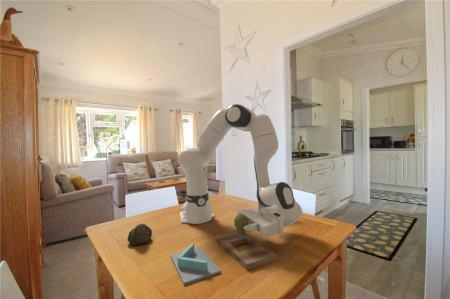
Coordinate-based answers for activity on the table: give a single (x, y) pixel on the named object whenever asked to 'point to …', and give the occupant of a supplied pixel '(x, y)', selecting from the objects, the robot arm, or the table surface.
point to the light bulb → (241, 225)
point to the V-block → (194, 264)
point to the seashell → (140, 234)
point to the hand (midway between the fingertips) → (239, 224)
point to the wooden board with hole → (249, 256)
